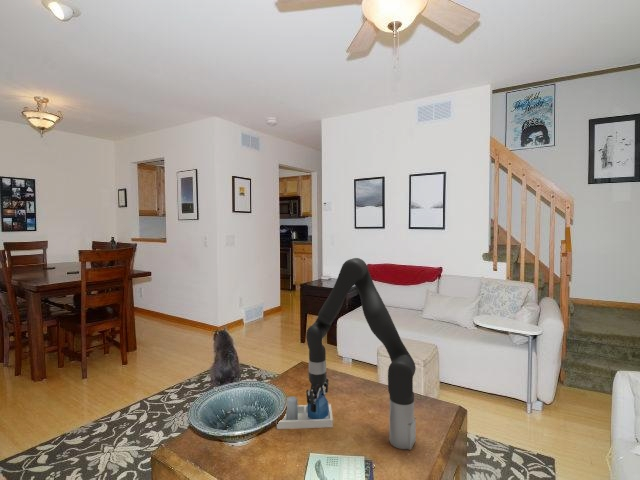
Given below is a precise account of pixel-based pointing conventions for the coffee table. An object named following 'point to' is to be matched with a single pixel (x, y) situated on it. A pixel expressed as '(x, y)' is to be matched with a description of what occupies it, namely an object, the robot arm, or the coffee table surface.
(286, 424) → the tray
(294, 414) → the grey rounded cylinder
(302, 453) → the coffee table surface
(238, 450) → the coffee table surface
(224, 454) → the coffee table surface
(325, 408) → the perfume bottle
